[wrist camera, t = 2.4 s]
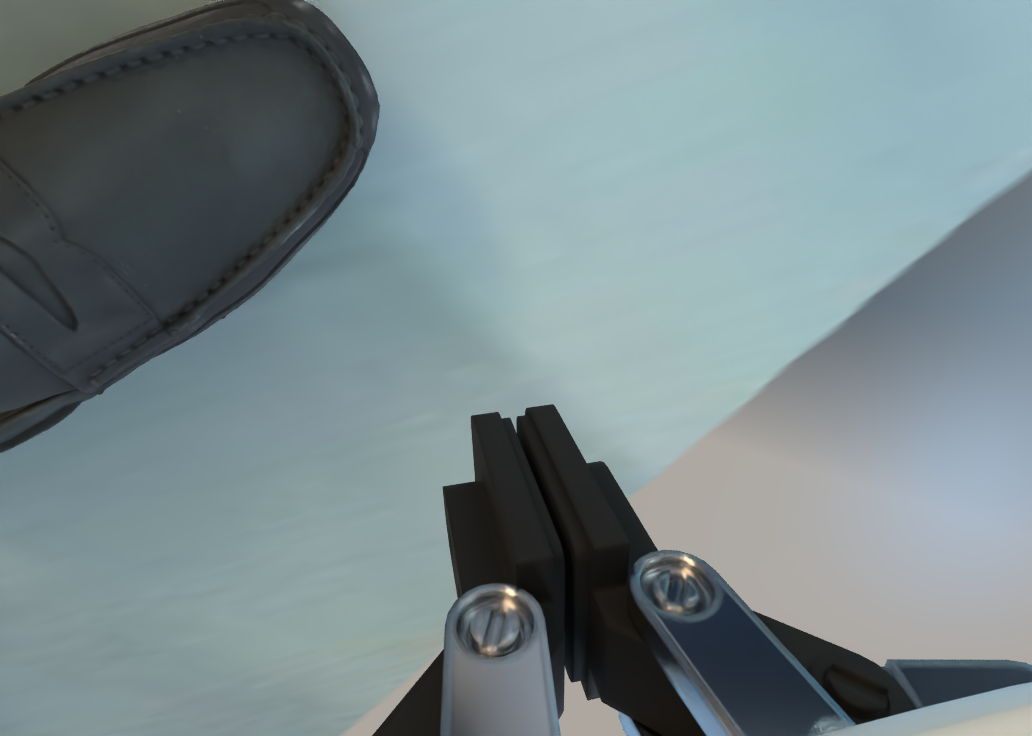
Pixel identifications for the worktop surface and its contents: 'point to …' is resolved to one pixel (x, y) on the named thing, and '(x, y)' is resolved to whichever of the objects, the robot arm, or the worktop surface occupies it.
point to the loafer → (164, 190)
